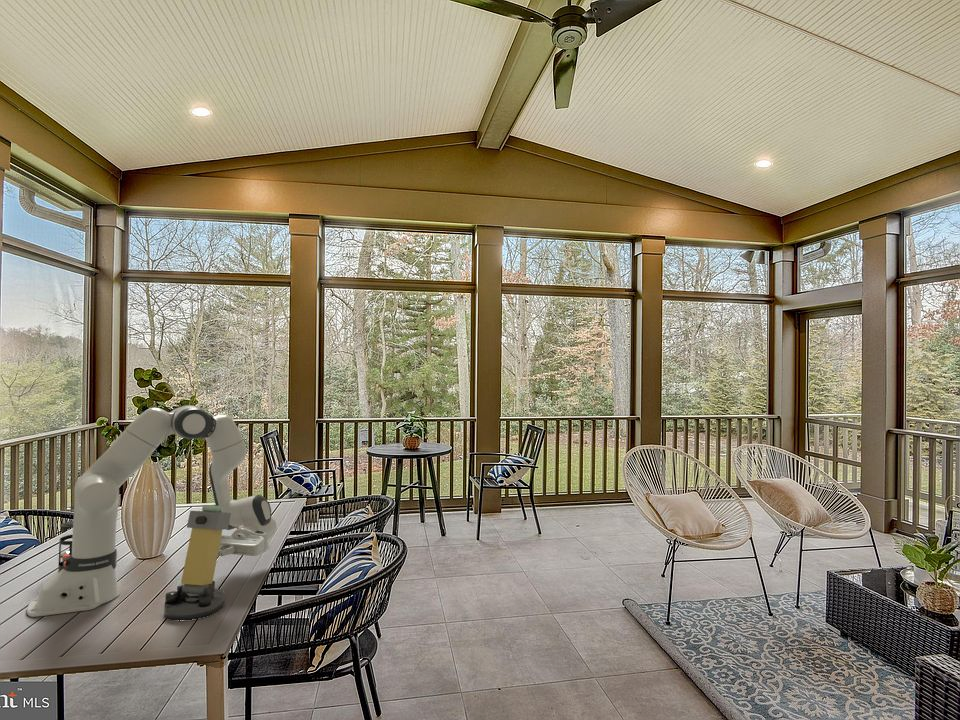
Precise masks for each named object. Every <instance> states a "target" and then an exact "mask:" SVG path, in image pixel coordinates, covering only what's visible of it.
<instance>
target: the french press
mask: <svg viewBox="0 0 960 720" xmlns="http://www.w3.org/2000/svg"><path fill="white" fill-rule="evenodd" d="M69 509H70V510H71V509H73V510H74V505H72V506H70V507H69ZM59 527H60V528H61V532H62V533H65V532H66V531H68V530H70V529H73V520H70V521H65V522H63V523H60V525H59ZM72 537H73V533H72V534H68V535H63V536H62V537H60V538H59V544H58V565H57V568H58V569H57V570H58V571H57V573H58V572H60V571H61V570H62V569H63V561H62V558H63V556H64V555H65V554H69V555H72V540H69V539H72ZM62 545H63V546H69V549H68V550H67V551H64V552H62Z"/></svg>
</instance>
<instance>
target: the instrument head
mask: <svg viewBox="0 0 960 720" xmlns="http://www.w3.org/2000/svg"><path fill="white" fill-rule="evenodd" d="M201 509H202V510H190V511H189V515H188V520H187V524H186V528H187V529H189V528H190V529H191V533H190V536H189V541H188V547H187V551H186V557H185V561H184V565H183V570H182V576H181V579H180V580H181V581H180V584H184V585H183V586H182V593H187V594H197V595H204V589H205V588H206V587H208V586H209V585H208V584H212V582H213V581H214V576H215V572H216V567H217V561H218V560H217V559H218V557H219V556H218V551H219V545H220V540H221V536H223V530H226V529H228V526H229V521H230V516H231V513H225V512H220V510H221V507H220V506H216V505H214V504H213V505H212V504H203V505H202V508H201Z"/></svg>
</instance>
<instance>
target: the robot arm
mask: <svg viewBox="0 0 960 720" xmlns="http://www.w3.org/2000/svg"><path fill="white" fill-rule="evenodd" d="M174 434H176V435H177V436H179V437H180V438H183V439H187V440H196V439H204V440H205V441H206V443H207V444H208V448H209V451H210V453H211V457H212V458H211V459H212V460H211V464H210V465H209V468H208V474H209V480H210V481H209V482H210V485H211V491H212V494H213V495H212V496H213V498H214V499H213V500H214V503H215V506H220V507H221V510H220V512H225V513H231V516H230V521H229V526H228V529H225V530H226V531H230V530H231V531H232V530H233V529H236V530H234V531H233V532H232V534H231V535H221V540H220V545H219V551H218V556H217V557H225V556H229V555H236V556H237V555H238V556H249V557H250V556H251V557H256V556H257V557H258V556H259V555H262V553H265V552H267V550H268V549H267V548H268V542H269V540H271V539H272V538H273V537H274V535H276V534H275V533H276V532H277V530H278V525H277V521H276V520H275V518H273V517H272V508H271V504H270V502H269V500H268V499H267V498H266V497H264V495H260V494H256V495H252V496H251V495H250V496H247V497H244V498H240V499H233V498H232V496H231V491H230V487H229V483H228V482H229V481H228V477H229V475H230V473H231V472H232V471H234V470H235V469H236V468H238V467H239V466H240V465H241V464H242V463H243V462H244V461H245V459H246V456H247V446H246V443H245V441H244V437H243V436H242V434H241V431H240V430H239V427H238V426H237V424H236V423H235V421H234V419H233V418H232V417H231V416H230V415H228V414H217V415H214V416H212V415H211V414H209V413H208V412H207V411H205V410H204V409H203V408H201V407H199V406H197V405H193V404H192V405H191V404H183V405H180V406H177V407H175V408H173V409H170V410H168V411H166V410H165V409H163V408H159V407H149V408H148V409H146V410H144V411H143V412H142V413H140V414H139V415H138V416H137V417H136V418H135V419H133V421H132V422H130V424H129V425H128V426H127V427H126V428H125V429H124V430H123V431H122V433H121V434H120V435H119V436H118V437H117V438H116V439H115V441H113V442H112V444H111V445H110V446H109V447H108V449H106V451H105V452H103V453H102V454H101V456H99V458H97V459H96V460H95V462H93V463H92V464H91V465H90V467H88V468H87V469H86V471H84V472H83V474H82V475H81V476H79V478H78V479H77V481H76V482H75V484H74V488H73V489H74V491H73V492H74V493H73V496H74V503H73V506H74V509H73V520H72V521H73V528H72V534H73V537H72V538H71V539H72V540H71V541H72V555H69V554H65V555H64V556H63V558H61V562H62V561H63V569H62V570H61V571H60V572H58V571H57V573H55V575H52V577H50V578H49V579H47V580H46V581H45V582H44V583H43V584H42V585H41V587H40V589H39V591H38V594H37V597H36V598H34V599H33V600H32V601H30V602H29V604H28V606H27V608H26V614H27V616H29V617H31V618H36V617H37V618H38V617H44V616H50V615H60V614H66V613H75V612H76V613H77V612H82V611H89V610H90V611H91V610H93V609H96V608H98V607H99V606H101V605H103V604H105V603H106V604H107V603H108V602H111V601H112V600H114V599H116V598H117V597H118V596H119V595H120V594H121V593H120V592H121V591H120V590H119V586H118V581H117V574H116V573H117V572H116V567H117V565H118V552H117V551H118V549H116V540H117V539H116V537H117V536H116V535H117V522H118V521H117V520H118V512H119V511H118V510H119V501H120V499H119V498H120V488H121V486H122V485H123V484H124V483H125V482H127V480H129V478H130V477H132V475H134V474H135V473H136V472H137V471H138V470H140V469H141V467H142V466H143V465H144V464H145V462H146V461H148V459H150V457H151V456H152V454H153V453H154V452H155V451H156V449H157V448H158V447H159V446H160V445H161V443H162V442H163V441H164V440H165V439H166V438H167V437H168V436H170V435H174ZM240 526H244V527H242V528H240V529H238V530H237V527H240Z"/></svg>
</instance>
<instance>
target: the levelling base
mask: <svg viewBox="0 0 960 720" xmlns="http://www.w3.org/2000/svg"><path fill="white" fill-rule="evenodd" d="M215 584H216V581H215V580H213V582H212V584H208V585H209V586H208V587H206V588H205V589H204V595H197V594H187V593H182V586H183V585H184V584H181V583H180V584H178V585H177V586H176V587H177V588H176V589H177V591H175V590H174V591H173V590H172V591H168V592H166V593H165V599H164V601H165V602H164V605H163V607H164V608H163V611H164V612H163V616H164V618H166V620H169V619H170V620H169V621H172V620H179V621H178V622H181V621H180V620H192V619H198V618H202V619H204V618H203V617H205V618H208V617H210V615H211V616H213V615H215V614H217V613H219V612H220V611H221V610H223V608H224V606H225V592H224V591H223V589H222V590H221V589H219V588H215V586H216V585H215ZM218 611H219V612H218ZM216 612H217V613H216ZM214 613H215V614H214ZM212 614H213V615H212ZM207 616H208V617H207ZM198 620H199V619H198ZM192 621H193V620H192Z"/></svg>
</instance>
